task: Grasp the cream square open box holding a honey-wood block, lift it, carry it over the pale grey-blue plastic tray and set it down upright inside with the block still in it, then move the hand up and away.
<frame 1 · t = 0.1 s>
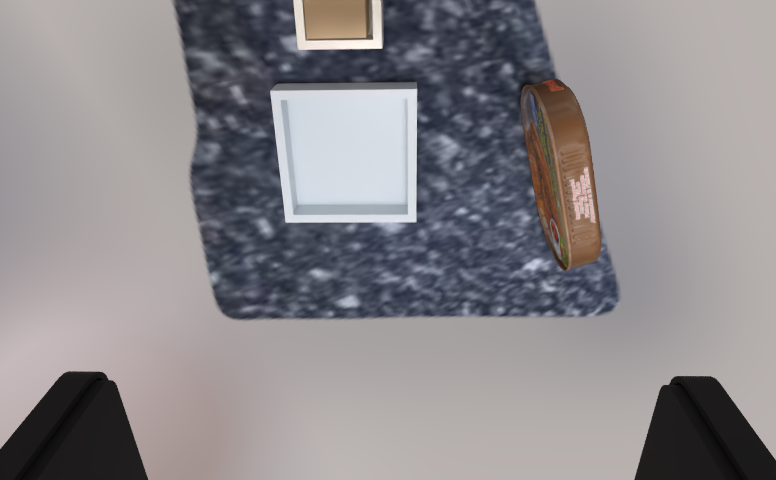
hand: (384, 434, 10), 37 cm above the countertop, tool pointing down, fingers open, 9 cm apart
tray: (350, 149, 45), on the countertop
block: (341, 0, 40), resting on cream square open box
tin: (547, 158, 45), on the countertop
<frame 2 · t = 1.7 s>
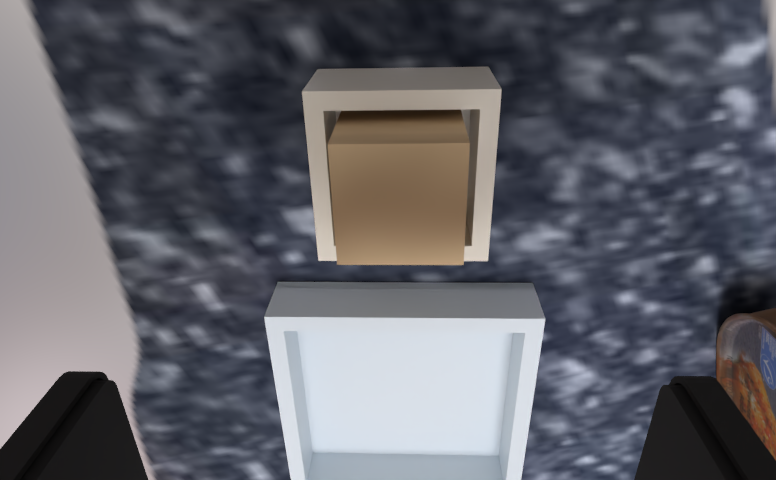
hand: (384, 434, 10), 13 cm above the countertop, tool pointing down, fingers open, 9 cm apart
cream square open box: (403, 146, 21), on the countertop, touching block
tray: (404, 377, 26), on the countertop
block: (401, 154, 20), resting on cream square open box
tin: (747, 392, 26), on the countertop
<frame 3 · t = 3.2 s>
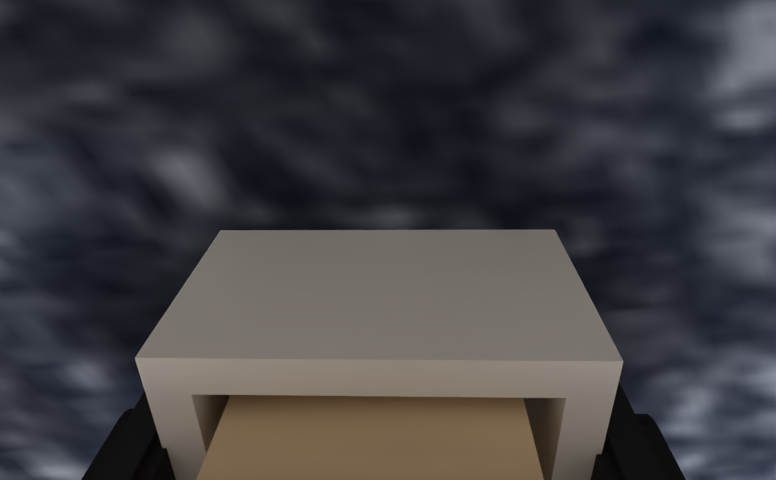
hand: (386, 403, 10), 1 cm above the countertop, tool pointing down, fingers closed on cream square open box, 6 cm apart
cream square open box: (388, 359, 11), on the countertop, touching block, gripper
block: (385, 385, 10), point 1 cm above the countertop, touching cream square open box
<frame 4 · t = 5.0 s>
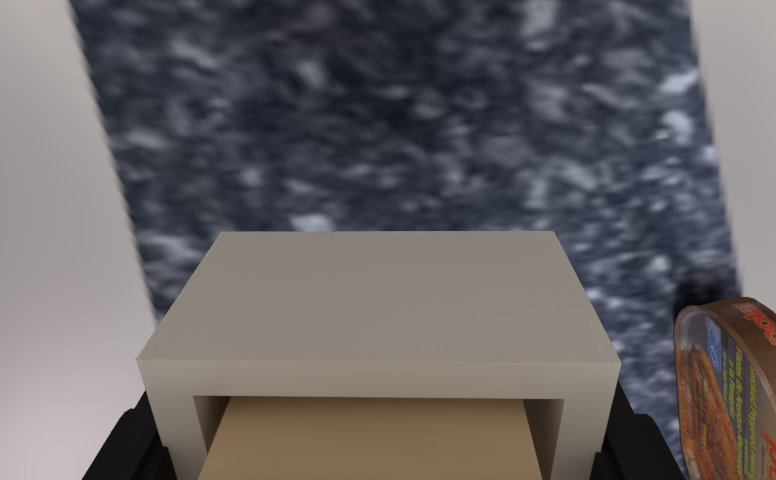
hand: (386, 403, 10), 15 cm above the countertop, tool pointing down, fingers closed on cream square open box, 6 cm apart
cream square open box: (388, 360, 11), point 14 cm above the countertop, touching block, gripper
block: (385, 385, 10), point 15 cm above the countertop, touching cream square open box
tin: (704, 381, 29), on the countertop
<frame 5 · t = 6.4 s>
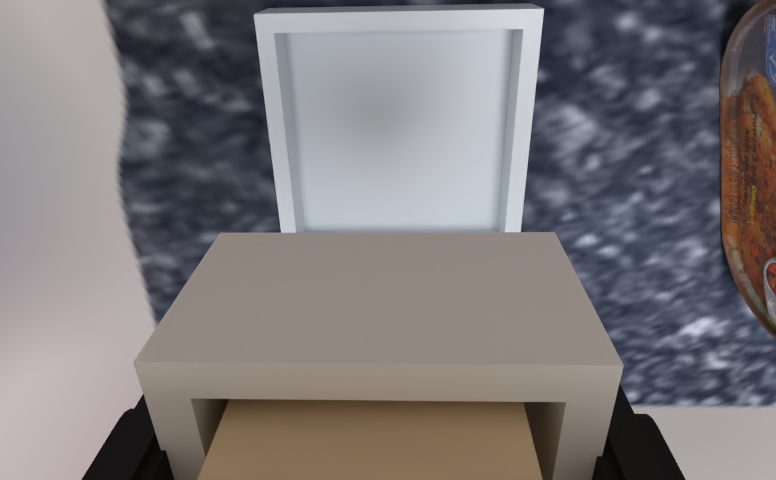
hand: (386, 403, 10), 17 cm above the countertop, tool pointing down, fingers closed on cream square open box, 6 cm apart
cream square open box: (388, 362, 11), point 16 cm above the countertop, touching block, gripper
tray: (399, 133, 25), on the countertop
block: (385, 387, 10), point 17 cm above the countertop, touching cream square open box
tin: (752, 149, 25), on the countertop
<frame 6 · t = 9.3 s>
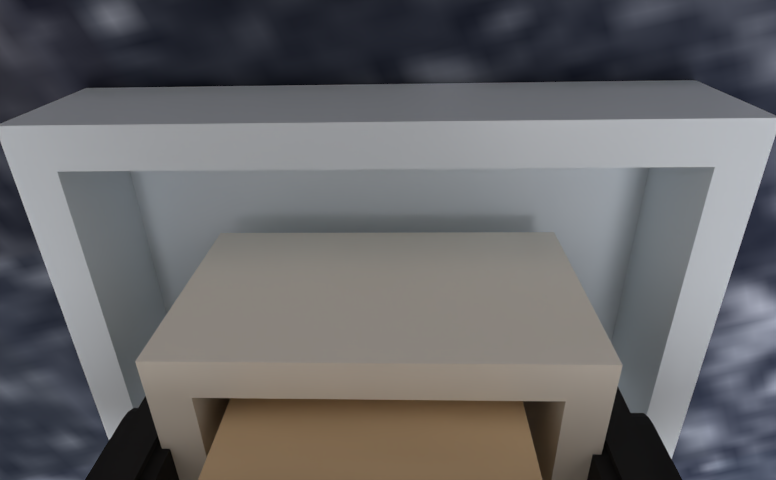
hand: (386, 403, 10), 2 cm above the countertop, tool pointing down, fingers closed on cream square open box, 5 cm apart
cream square open box: (388, 362, 11), point 1 cm above the countertop, touching block, gripper
tray: (389, 330, 12), on the countertop
block: (385, 387, 10), point 2 cm above the countertop, touching cream square open box
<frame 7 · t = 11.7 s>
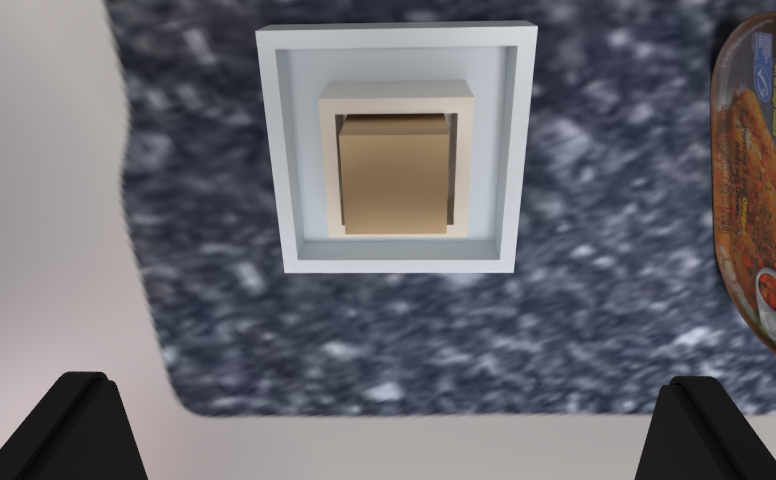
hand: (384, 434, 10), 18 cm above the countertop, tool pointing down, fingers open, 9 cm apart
cream square open box: (398, 146, 25), resting on block, tray
tray: (397, 146, 26), on the countertop
block: (396, 150, 25), point 1 cm above the countertop, touching cream square open box
tin: (742, 161, 26), on the countertop
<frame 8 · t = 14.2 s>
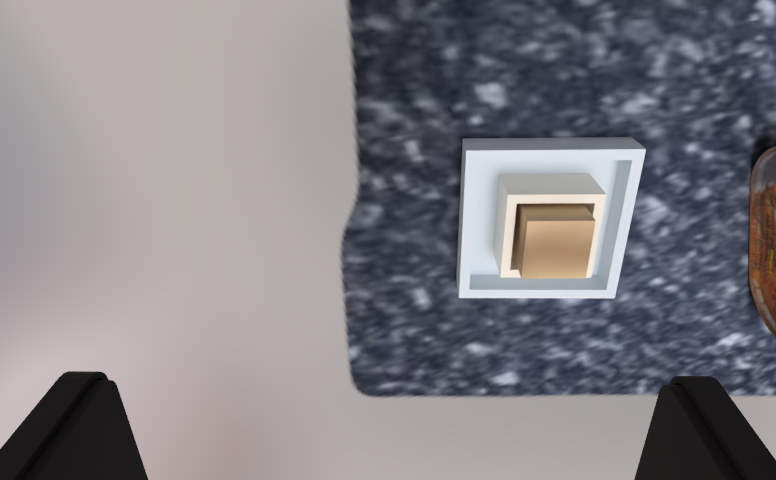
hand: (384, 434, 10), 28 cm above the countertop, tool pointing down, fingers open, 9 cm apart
cream square open box: (539, 214, 38), resting on block, tray
tray: (537, 213, 38), on the countertop
block: (541, 218, 37), point 1 cm above the countertop, touching cream square open box
tin: (770, 223, 38), on the countertop
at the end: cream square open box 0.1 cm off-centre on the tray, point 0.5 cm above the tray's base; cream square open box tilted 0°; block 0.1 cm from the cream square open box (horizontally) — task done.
